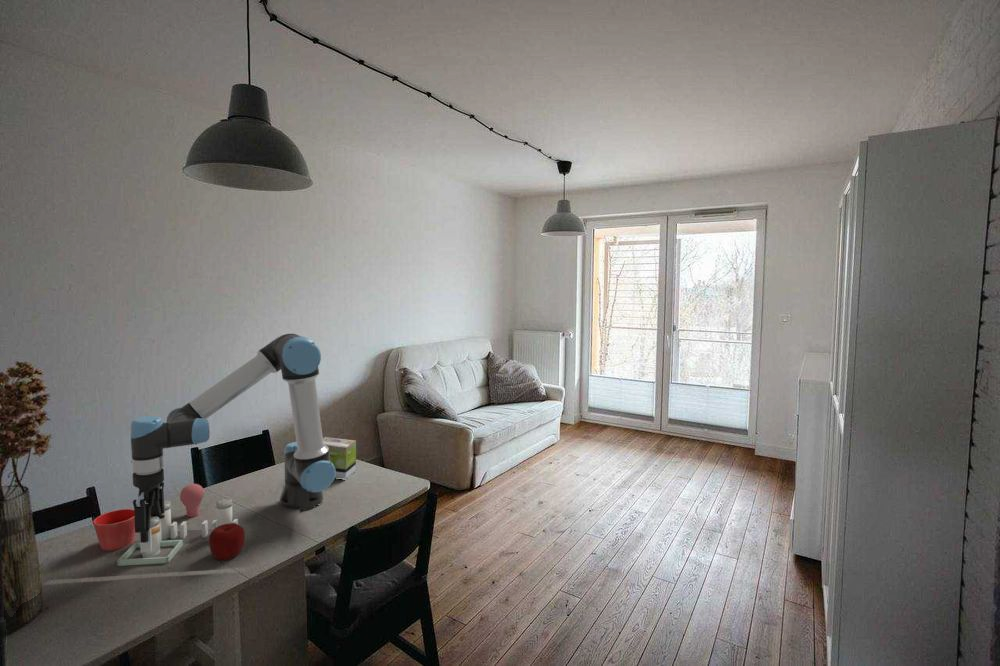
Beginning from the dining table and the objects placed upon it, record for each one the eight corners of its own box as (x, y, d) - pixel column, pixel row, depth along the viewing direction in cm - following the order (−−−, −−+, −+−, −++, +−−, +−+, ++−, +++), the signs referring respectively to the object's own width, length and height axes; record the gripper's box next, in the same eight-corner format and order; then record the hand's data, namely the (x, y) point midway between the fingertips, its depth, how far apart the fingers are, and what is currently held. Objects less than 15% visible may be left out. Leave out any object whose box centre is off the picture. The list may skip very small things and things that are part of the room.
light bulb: (193, 524, 173) (192, 490, 172) (175, 521, 174) (174, 487, 173) (209, 514, 180) (208, 481, 178) (192, 512, 181) (191, 479, 180)
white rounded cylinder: (234, 530, 168) (234, 498, 166) (230, 537, 163) (229, 504, 162) (219, 531, 167) (219, 499, 166) (214, 538, 162) (214, 505, 161)
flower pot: (101, 541, 160) (99, 511, 159) (142, 535, 165) (141, 506, 164) (89, 558, 151) (87, 527, 150) (134, 551, 155) (133, 521, 154)
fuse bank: (243, 530, 170) (243, 514, 169) (236, 543, 162) (235, 526, 161) (153, 535, 165) (153, 518, 164) (141, 548, 157) (140, 531, 156)
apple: (221, 548, 159) (220, 517, 158) (251, 549, 159) (250, 519, 157) (202, 565, 149) (201, 532, 148) (234, 567, 149) (234, 534, 148)
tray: (183, 547, 158) (183, 539, 158) (168, 565, 149) (168, 557, 148) (135, 550, 156) (135, 542, 156) (117, 569, 146) (117, 560, 146)
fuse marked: (163, 550, 155) (162, 515, 154) (156, 558, 150) (155, 523, 149) (146, 551, 154) (145, 516, 153) (139, 559, 150) (137, 524, 148)
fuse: (174, 533, 164) (173, 500, 163) (168, 540, 160) (166, 507, 159) (158, 534, 164) (157, 501, 162) (152, 541, 159) (150, 507, 158)
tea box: (312, 477, 215) (312, 443, 214) (324, 468, 225) (324, 436, 223) (345, 481, 213) (346, 446, 211) (356, 472, 223) (356, 439, 221)
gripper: (149, 459, 157) (152, 531, 160) (116, 483, 140) (120, 563, 142) (176, 458, 159) (178, 530, 161) (147, 482, 141) (150, 562, 144)
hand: (151, 545), depth 152 cm, fingers open, 5 cm apart
